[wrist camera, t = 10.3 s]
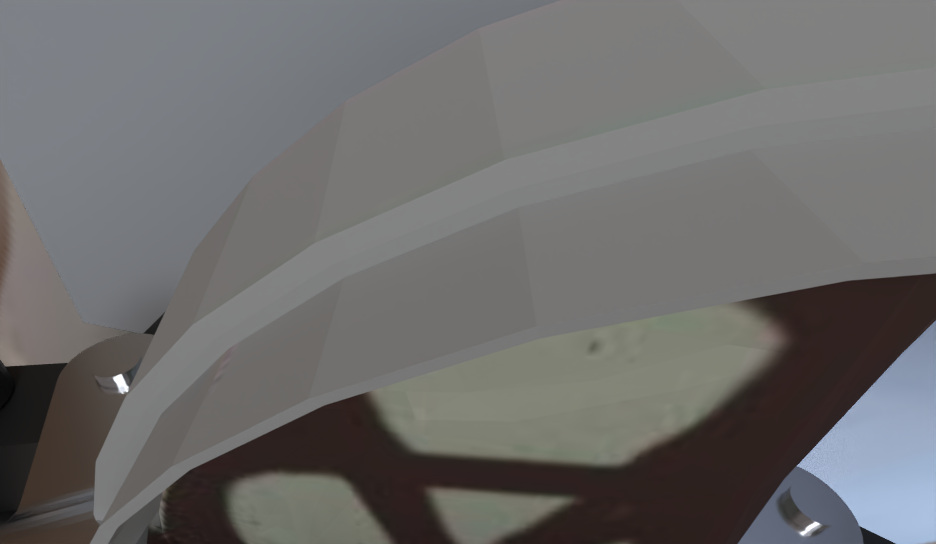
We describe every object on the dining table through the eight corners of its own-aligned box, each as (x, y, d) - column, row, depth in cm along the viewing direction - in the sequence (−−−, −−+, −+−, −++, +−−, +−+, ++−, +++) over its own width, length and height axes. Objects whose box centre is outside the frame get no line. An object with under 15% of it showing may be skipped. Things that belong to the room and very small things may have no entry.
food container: (314, -104, 9) (-1935, -532, 1) (636, -68, 9) (2193, -43, 1) (354, 348, 16) (217, 765, 8) (528, 364, 16) (563, 792, 8)
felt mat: (870, -181, 8) (890, -188, 7) (581, 410, 18) (582, 422, 18) (-233, -378, 8) (-281, -396, 8) (94, 312, 18) (83, 322, 18)
